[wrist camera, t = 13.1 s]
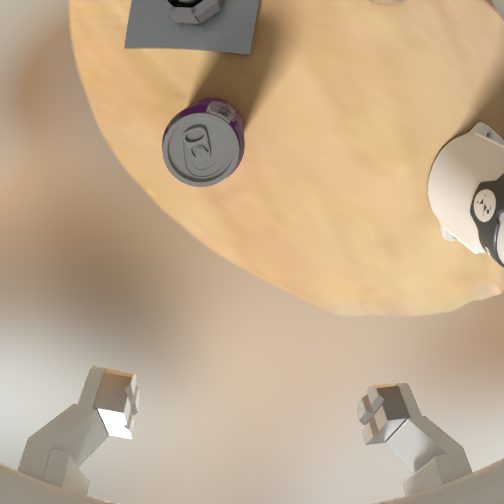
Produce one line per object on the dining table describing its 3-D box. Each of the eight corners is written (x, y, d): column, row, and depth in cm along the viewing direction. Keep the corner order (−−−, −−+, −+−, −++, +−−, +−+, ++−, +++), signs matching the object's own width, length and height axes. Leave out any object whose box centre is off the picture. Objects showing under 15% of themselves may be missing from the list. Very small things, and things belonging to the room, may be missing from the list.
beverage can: (172, 110, 34) (144, 126, 23) (232, 89, 33) (229, 94, 22) (193, 164, 37) (175, 203, 27) (250, 146, 36) (256, 177, 26)
